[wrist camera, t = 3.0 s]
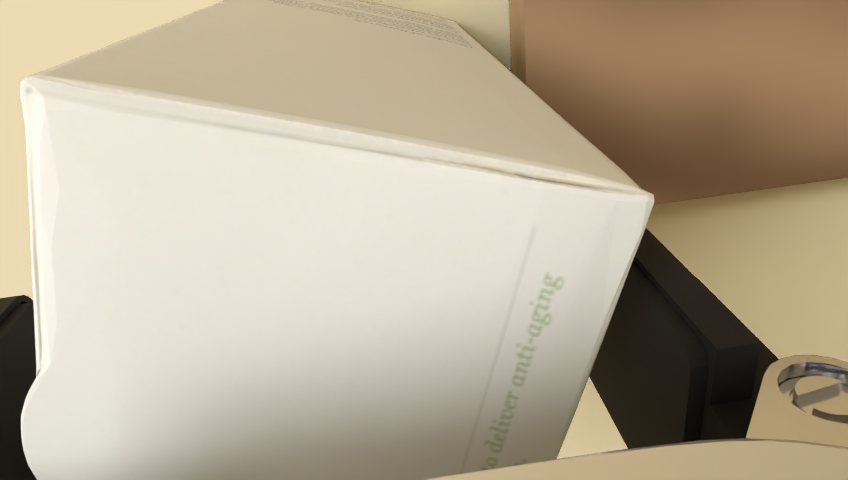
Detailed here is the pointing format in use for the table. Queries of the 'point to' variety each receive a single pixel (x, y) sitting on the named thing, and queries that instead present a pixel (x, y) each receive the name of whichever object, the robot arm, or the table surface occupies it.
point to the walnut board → (695, 87)
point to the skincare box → (310, 252)
